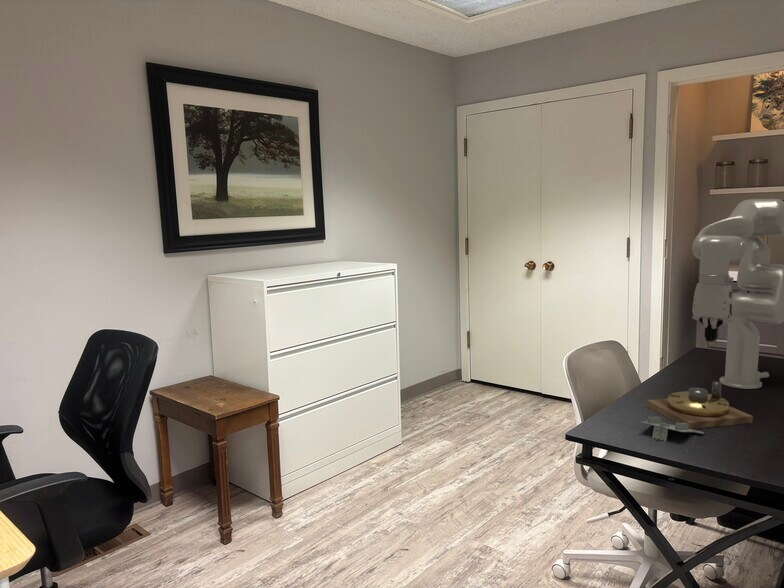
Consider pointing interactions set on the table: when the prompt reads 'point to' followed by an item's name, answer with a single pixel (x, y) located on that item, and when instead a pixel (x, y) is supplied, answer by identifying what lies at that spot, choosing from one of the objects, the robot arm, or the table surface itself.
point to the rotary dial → (700, 401)
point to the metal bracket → (664, 428)
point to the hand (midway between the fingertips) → (710, 340)
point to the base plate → (699, 421)
